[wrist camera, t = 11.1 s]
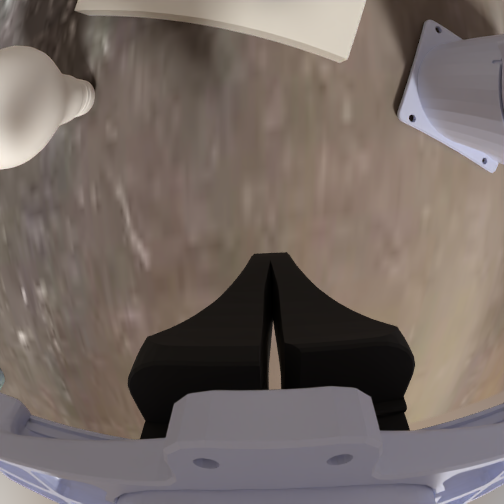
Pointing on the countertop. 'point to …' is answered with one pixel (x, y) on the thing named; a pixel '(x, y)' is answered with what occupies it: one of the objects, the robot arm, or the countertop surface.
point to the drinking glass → (1, 379)
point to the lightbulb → (35, 102)
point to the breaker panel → (254, 19)
